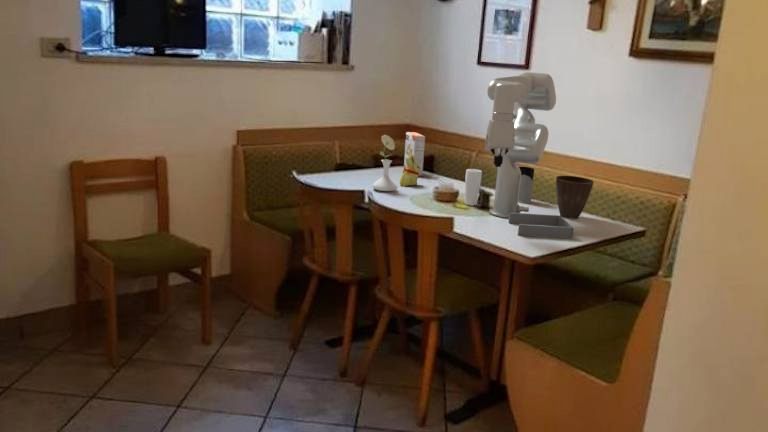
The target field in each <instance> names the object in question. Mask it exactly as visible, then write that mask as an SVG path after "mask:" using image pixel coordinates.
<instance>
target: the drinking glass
mask: <svg viewBox="0 0 768 432" xmlns="http://www.w3.org/2000/svg"><path fill="white" fill-rule="evenodd" d="M482 174H483V173H482V170H480V169H476V168H467V169H465V178H464V180H465V181H464V204H465V205H466V206H469V205H470V207H471V206H472V207H474V205H475V206H477V205H476V204H478V200H479V199H478V198H479V192H480V189H481V188H480V187H481V183H482V176H483V175H482Z"/></svg>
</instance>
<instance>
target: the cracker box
mask: <svg viewBox="0 0 768 432" xmlns="http://www.w3.org/2000/svg"><path fill="white" fill-rule="evenodd" d="M425 145H426V136H425V135H423V134H420V133H419V132H415V131H406V132H405V145H404V147H405V148H404V159H403V160H404V161H403V162H404V163H403V169H404V168H405V169H406V168H407V162H406V158H407V157H408V156H409V155H410V154H413V156H414V158H415V161H416V162H417V163H418V164H419V165H420V171H419V175H418V177H423V173H424V157H425V147H426V146H425Z"/></svg>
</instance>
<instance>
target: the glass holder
mask: <svg viewBox="0 0 768 432" xmlns="http://www.w3.org/2000/svg"><path fill="white" fill-rule="evenodd" d="M518 167H519V168H520V171H521V180H520V189H519V197H518V202H519V203H518V204H531V203H532V202H533V201H532V194H533V188H534V187H533V186H534V174H535V168H533V167H528V166H518Z"/></svg>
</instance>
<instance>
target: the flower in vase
mask: <svg viewBox="0 0 768 432" xmlns="http://www.w3.org/2000/svg"><path fill="white" fill-rule="evenodd" d="M381 142H382V144H383V146H384V148H383V151H382V150H380V152H379V155H380V156H382V157H384V159H381V160H380V161H381V162H382V166H383V174H382V176H381V178H379V179H378V180H376V181H375V182H374V183H373V184H372V188H373V189H375V190H377V191H380V192H381V191H382V192H392V191H396V190H397V189H398V185H397V184H396V183H395V182H394V181H393V180H392V178H390V177H389V170H390V166H391V163H393V160H392V159H387V157H389V156H392V153H390V154H388V155H385V150H386V148H387V149H388V150H390V151H393V150H395V149H396V148H395V147H396V145H395V142H394V139H393V138H392V137H391V136H390V135H387V134H383V135H382V136H381Z"/></svg>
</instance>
